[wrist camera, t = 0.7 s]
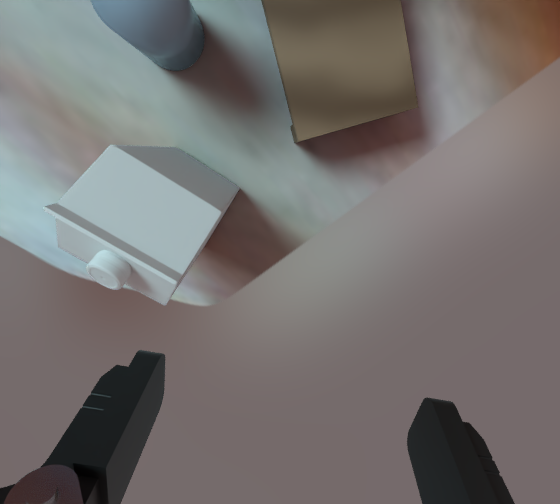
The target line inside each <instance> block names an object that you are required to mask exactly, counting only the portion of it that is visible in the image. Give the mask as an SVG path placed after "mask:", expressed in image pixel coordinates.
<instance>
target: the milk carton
mask: <svg viewBox="0 0 560 504" xmlns="http://www.w3.org/2000/svg"><path fill="white" fill-rule="evenodd" d="M239 189H240V188H239V187H238V186H237V185H235V184H234V183H232V182H231V181H229V180H227V179H226V178H224V177H223V176H221V175H220V174H218V173H216V172H215V171H213V170H212V169H210V168H208V167H207V166H205V165H204V164H202V163H201V162H199V161H197V160H196V159H194V158H193V157H191V156H190V155H188V154H186V153H185V152H183V151H182V150H180V149H178V148H176V147H158V146H131V145H110V146H109V147H108V148H107V149H106V150H105V151H104V152H103V153H102V154H101V156H100V157H99V158H98V159H97V160H96V161H95V162H94V163H93V164H92V165H91V166H90V167H89V168H88V170H87V171H86V172H85V173H84V174H83V175H82V176H81V177H80V178H79V179H78V180H77V181H76V182H75V184H74V185H73V186H72V187H71V188H70V189H69V190H68V191H67V192H66V193H65V194H64V195H63V197H62V198H61V199H60V200H59V201H58V202H57V203H56V204H52V205H48V206H44V208H43V210H44V211H45V212H47V213H48V214H50V215H52V216H54V217H55V218H56V229H57V242H58V247H59V248H61V249H63V250H64V251H66V252H68V253H70V254H71V255H73V256H75V257H77V258H78V259H80V260H82V261H84V262H86V263H87V266H86V270H87V273H88V274H89V275H90V277H91V278H93V279H94V280H95V281H96V282H98V283H99V284H101V285H103V286H105V287H107V288H110V289H114V290H118V289H120V288H122V286H123V285H124V284H126V285H127V286H129V287H131V288H133V289H135V290H136V291H138V292H140V293H142V294H144V295H145V296H147V297H149V298H151V299H153V300H155V301H157V302H158V303H160V304H162V305H166V304H167V302H168V301H169V299H170V298H171V296H172V295H173V293H174V292H175V290H176V289H177V287H178V286H179V284H180V283H181V281H182V280H183V278H184V277H185V275H186V274H187V272H188V271H189V269H190V268H191V266H192V265H193V263H194V262H195V260H196V259H197V257H198V255H199V254H200V252H201V251H202V249H203V248H204V246H205V245H206V243H207V241H208V240H209V238H210V237H211V235H212V233H213V232H214V230H215V228H216V227H217V225H218V223H219V222H220V220H221V219H222V217H223V215H224V214H225V212H226V210H227V209H228V207H229V205H230V204H231V202H232V201H233V199H234V197H235V196H236V194H237V192H238V191H239Z"/></svg>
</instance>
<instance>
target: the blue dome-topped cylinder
mask: <svg viewBox="0 0 560 504" xmlns="http://www.w3.org/2000/svg"><path fill="white" fill-rule="evenodd" d="M91 2H92V5H93V7H94V9H95V11H96V13H97V14H98V16H99V17H100V19H101V20H102V21H103V22H104V23H105V24H106V25H107V26H108V27H109V28H110V29H112V30H113V31H114V32H116V33H117V34H118V35H119V36H121V37H122V38H123V39H125V40H126V41H127V42H128V43H130V44H131V45H132V46H134V47H135V48H136V49H137V50H139V51H140V52H141V53H143V54H144V55H145V56H146V57H148V58H149V59H150V60H152V61H153V62H154V63H156V64H157V65H158V66H160V67H162V68H164V69H167V70H172V71H179V70H184V69H186V68H188V67H190V66H191V65H193V64H194V63H195V62H196V61H197V60H198V58H199V57H200V55H201V53H202V50H203V47H204V30H203V27H202V24H201V22H200V20H199V18H198V16H197V14H196V12H195V10H194V8H193V6H192V4H191V2H190V0H91Z"/></svg>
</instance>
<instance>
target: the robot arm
mask: <svg viewBox="0 0 560 504" xmlns="http://www.w3.org/2000/svg"><path fill="white" fill-rule="evenodd" d="M164 379H165V355H164V354H161V353H155V352H149V351H142V350H139V351H138V352H137V353H136V355H135V357H134V358H133V360H132V362H131V363H130V365H129V367H126V366H120V365H116V366H115V367H113V368H112V369H111V370H110V371H108V372H107V373H106V374H104V375H103V376H102V377H101V378H100V380H99V381H98V383H97V384H96V386H95V387H94V389H93V390H92V392H91V395H90V396H88V398H87V400H86V401H85V403H84V404H83V407H82V408H81V409H80V410H79V412H78V413H77V415H76V416H75V418H74V419H73V421H72V423H71V424H70V426H69V427H68V429H67V430H66V432H65V433H64V435H63V436H62V438H61V440H60V441H59V443H58V444H57V446H56V447H55V449H54V450H53V452H52V453H51V455H50V456H49V458H48V459H47V461H46V462H45V463H44V464H43V465H42V466H41V467H40V468H38V469H36V470H34V471H32V472H30V473H28V474H27V475H25V476H24V477H23V478H21V479H20V480H19V481H18V482H17V483H16V484H13V485H10V486H8V487H4V488H0V504H120V503H121V501H122V499H123V496H124V494H125V491H126V489H127V487H128V484H129V482H130V479H131V477H132V475H133V472H134V470H135V467H136V465H137V463H138V460H139V458H140V456H141V453H142V451H143V448H144V446H145V443H146V441H147V439H148V436H149V434H150V432H151V429H152V427H153V424H154V422H155V420H156V417H157V415H158V413H159V410H160V407H161V404H162V400H163V394H164V381H165V380H164ZM407 446H408V452H409V456H410V460H411V463H412V467H413V471H414V474H415V478H416V482H417V485H418V489H419V493H420V496H421V500H422V504H515V503H514V502H513V499H512V497H511V495H510V493H509V491H508V489H507V487H506V485H505V483H504V481H503V479H502V477H501V476H500V475H499V473H500V472H499V470H498V468H497V466H496V464H495V462H494V461H492V456H491V454H490V452H489V450H488V448H487V446H486V443H485V441H484V439H482V437H481V436H480V435H479V434H478V432H477V431H476V430H475V429H474V428H473V427H472V426H471V424H470V423H467V422H462V419H461V417H460V415H459V413H458V410H457V408H456V406H455V405H454V404H453V402H451V401H444V400H438V399H432V398H425V399H424V400H423V402H422V404H421V406H420V408H419V410H418V412H417V414H416V416H415V419H414V421H413V423H412V425H411V427H410V429H409V432H408V438H407Z"/></svg>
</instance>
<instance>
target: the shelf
mask: <svg viewBox="0 0 560 504" xmlns="http://www.w3.org/2000/svg"><path fill="white" fill-rule="evenodd" d="M261 1H262V5H263V9H264V13H265V16H266V20H267V24H268V28H269V32H270V36H271V40H272V44H273V48H274V52H275V56H276V60H277V64H278V68H279V72H280V76H281V80H282V84H283V88H284V92H285V95H286V99H287V103H288V107H289V111H290V115H291V119H292V123H293V125H292V126H291V131H292V135H293V139H294V143H296V142H299V141H303V140H306V139H310V138H313V137H317V136H320V135H324V134H327V133H331V132H334V131H338V130H341V129H345V128H348V127H352V126H355V125H359V124H362V123H366V122H369V121H373V120H376V119H380V118H383V117H387V116H390V115H394V114H397V113H400V112H404V111H407V110H411V109H414V108H418V102H417V96H416V90H415V84H414V78H413V72H412V66H411V60H410V54H409V48H408V42H407V36H406V30H405V24H404V18H403V12H402V6H401V0H261Z"/></svg>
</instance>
